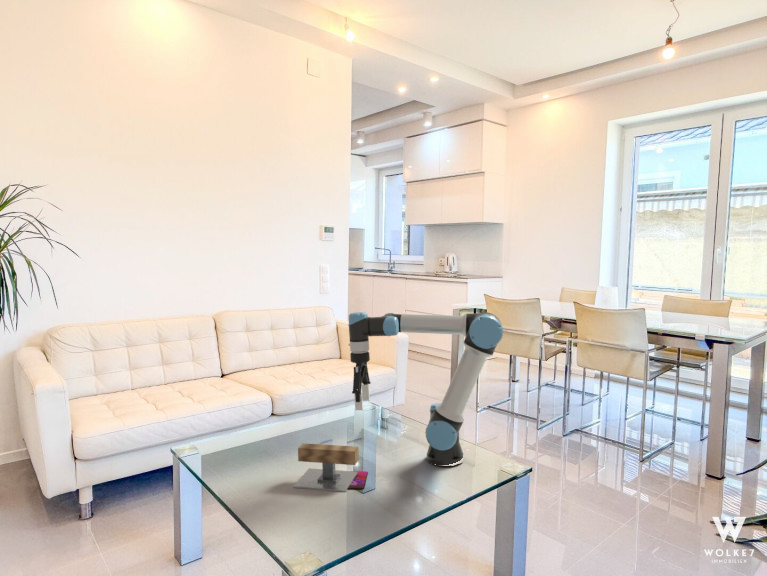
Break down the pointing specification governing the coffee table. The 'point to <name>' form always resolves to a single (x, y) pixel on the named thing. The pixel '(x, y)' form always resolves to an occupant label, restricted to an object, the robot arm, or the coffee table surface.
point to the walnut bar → (328, 454)
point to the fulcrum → (326, 479)
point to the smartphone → (358, 481)
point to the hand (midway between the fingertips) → (362, 405)
